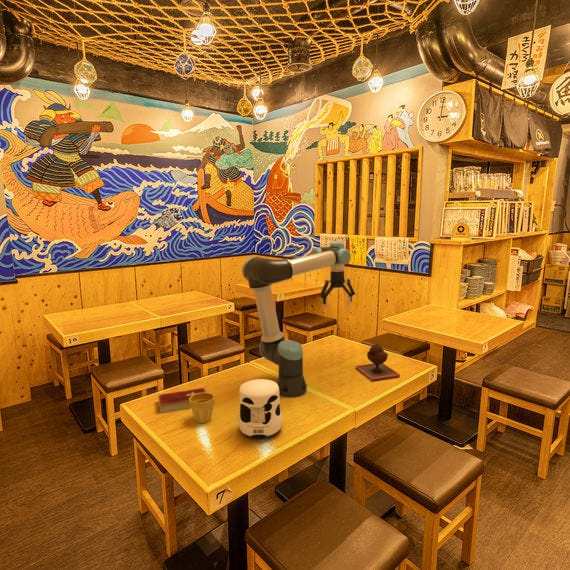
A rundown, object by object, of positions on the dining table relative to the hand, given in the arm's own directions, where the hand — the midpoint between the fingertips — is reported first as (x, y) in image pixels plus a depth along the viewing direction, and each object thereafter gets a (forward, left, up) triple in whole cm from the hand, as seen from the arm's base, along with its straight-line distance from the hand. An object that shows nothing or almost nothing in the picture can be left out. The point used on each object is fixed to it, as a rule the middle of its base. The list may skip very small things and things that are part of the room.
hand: (337, 308), depth 218 cm
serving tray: (+14, -20, -32) cm, 40 cm away
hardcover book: (-86, -21, -32) cm, 94 cm away
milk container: (-57, -55, -32) cm, 85 cm away
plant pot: (-78, -39, -32) cm, 93 cm away
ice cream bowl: (+14, -20, -31) cm, 39 cm away
